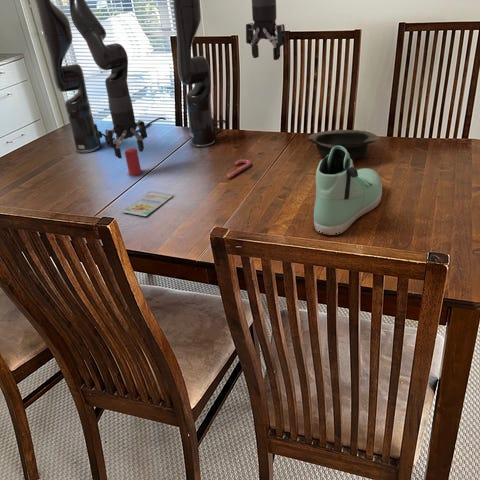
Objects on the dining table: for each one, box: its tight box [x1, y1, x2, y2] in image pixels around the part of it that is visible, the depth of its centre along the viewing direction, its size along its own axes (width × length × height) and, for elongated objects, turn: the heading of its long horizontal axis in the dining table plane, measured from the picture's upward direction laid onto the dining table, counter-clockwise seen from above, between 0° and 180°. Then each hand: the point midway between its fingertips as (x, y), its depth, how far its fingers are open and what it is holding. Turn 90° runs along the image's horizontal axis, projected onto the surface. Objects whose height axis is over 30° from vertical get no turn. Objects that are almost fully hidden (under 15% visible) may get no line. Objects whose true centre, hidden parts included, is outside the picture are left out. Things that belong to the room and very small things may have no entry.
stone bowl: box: [307, 129, 380, 162], centre depth 171 cm, size 25×25×9 cm
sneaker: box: [313, 146, 383, 236], centre depth 133 cm, size 14×35×20 cm, turn 152°
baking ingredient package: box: [121, 191, 173, 217], centre depth 150 cm, size 9×1×15 cm
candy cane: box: [226, 158, 252, 180], centre depth 168 cm, size 6×15×2 cm, turn 145°
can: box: [124, 147, 142, 177], centre depth 170 cm, size 4×4×9 cm
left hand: (130, 154), depth 168 cm, fingers open, 8 cm apart
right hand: (266, 58), depth 157 cm, fingers open, 8 cm apart
